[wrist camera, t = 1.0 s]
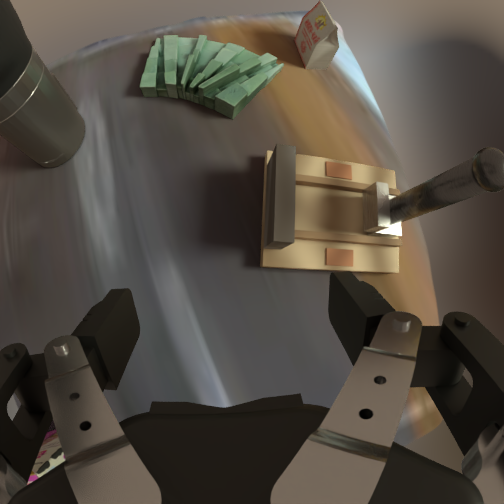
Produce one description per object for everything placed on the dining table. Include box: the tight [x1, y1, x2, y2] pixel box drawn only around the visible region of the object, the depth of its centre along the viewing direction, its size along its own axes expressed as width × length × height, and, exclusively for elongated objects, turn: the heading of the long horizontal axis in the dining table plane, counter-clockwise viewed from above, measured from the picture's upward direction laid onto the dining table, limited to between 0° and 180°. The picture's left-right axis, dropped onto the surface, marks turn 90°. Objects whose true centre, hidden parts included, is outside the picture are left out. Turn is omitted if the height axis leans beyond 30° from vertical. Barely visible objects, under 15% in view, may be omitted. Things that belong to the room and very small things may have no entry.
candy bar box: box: [27, 429, 65, 485], centre depth 22 cm, size 11×5×16 cm, turn 118°
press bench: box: [260, 144, 402, 273], centre depth 34 cm, size 18×14×8 cm
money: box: [139, 35, 284, 119], centre depth 36 cm, size 20×16×5 cm
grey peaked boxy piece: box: [294, 1, 339, 69], centre depth 36 cm, size 4×7×10 cm, turn 11°
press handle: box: [362, 147, 504, 238], centre depth 26 cm, size 6×5×21 cm
